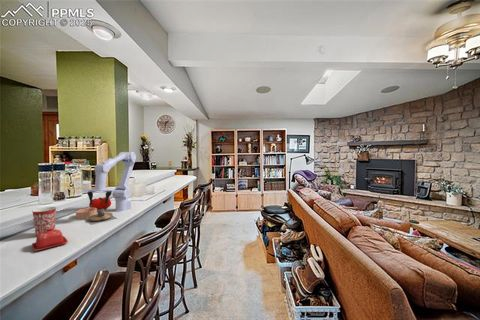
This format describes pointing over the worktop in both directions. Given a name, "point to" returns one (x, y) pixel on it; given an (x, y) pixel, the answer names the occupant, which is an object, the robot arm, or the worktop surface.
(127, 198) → the robot arm
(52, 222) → the mug
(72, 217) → the worktop surface
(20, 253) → the worktop surface
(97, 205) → the tomato
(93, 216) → the lid
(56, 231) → the butter dish
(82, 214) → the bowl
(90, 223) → the mat
